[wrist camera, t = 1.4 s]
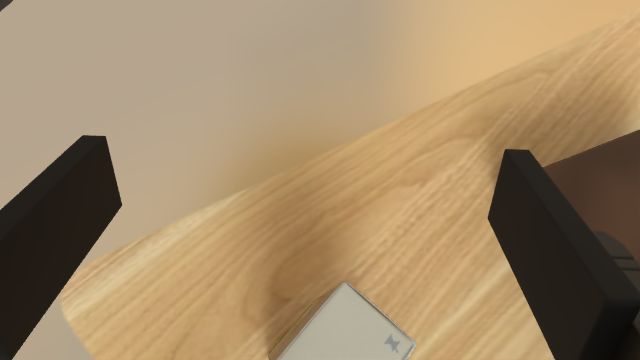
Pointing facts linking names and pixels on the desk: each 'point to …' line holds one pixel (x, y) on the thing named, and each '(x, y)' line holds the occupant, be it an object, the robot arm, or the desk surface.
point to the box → (344, 331)
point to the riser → (605, 188)
